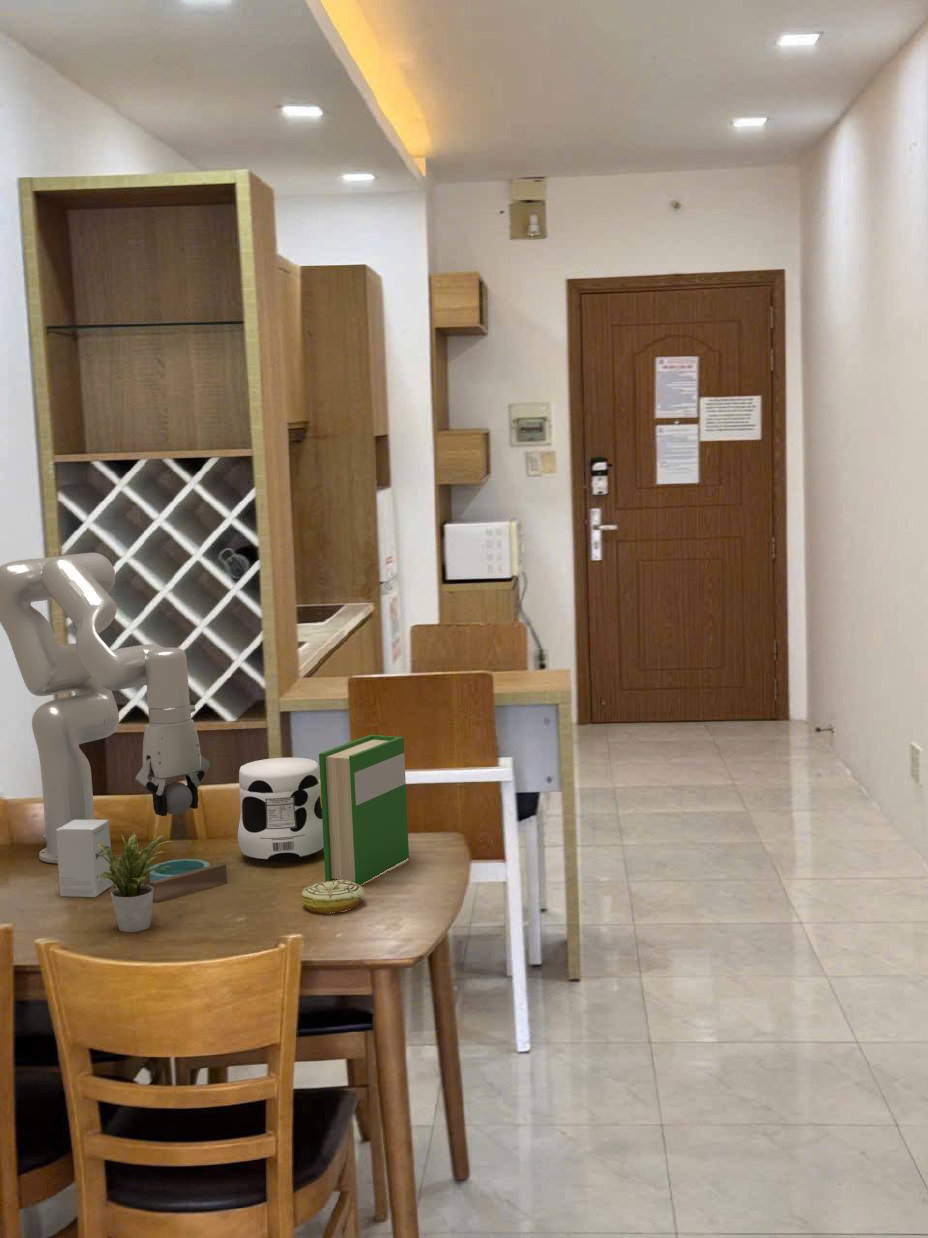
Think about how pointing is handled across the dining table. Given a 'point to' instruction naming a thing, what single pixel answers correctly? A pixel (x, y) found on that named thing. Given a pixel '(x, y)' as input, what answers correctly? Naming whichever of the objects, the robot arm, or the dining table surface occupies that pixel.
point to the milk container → (280, 810)
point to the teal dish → (176, 868)
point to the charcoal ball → (177, 798)
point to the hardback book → (364, 808)
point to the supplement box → (83, 857)
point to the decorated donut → (332, 896)
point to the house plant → (132, 884)
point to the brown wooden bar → (189, 882)
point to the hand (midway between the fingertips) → (176, 810)
